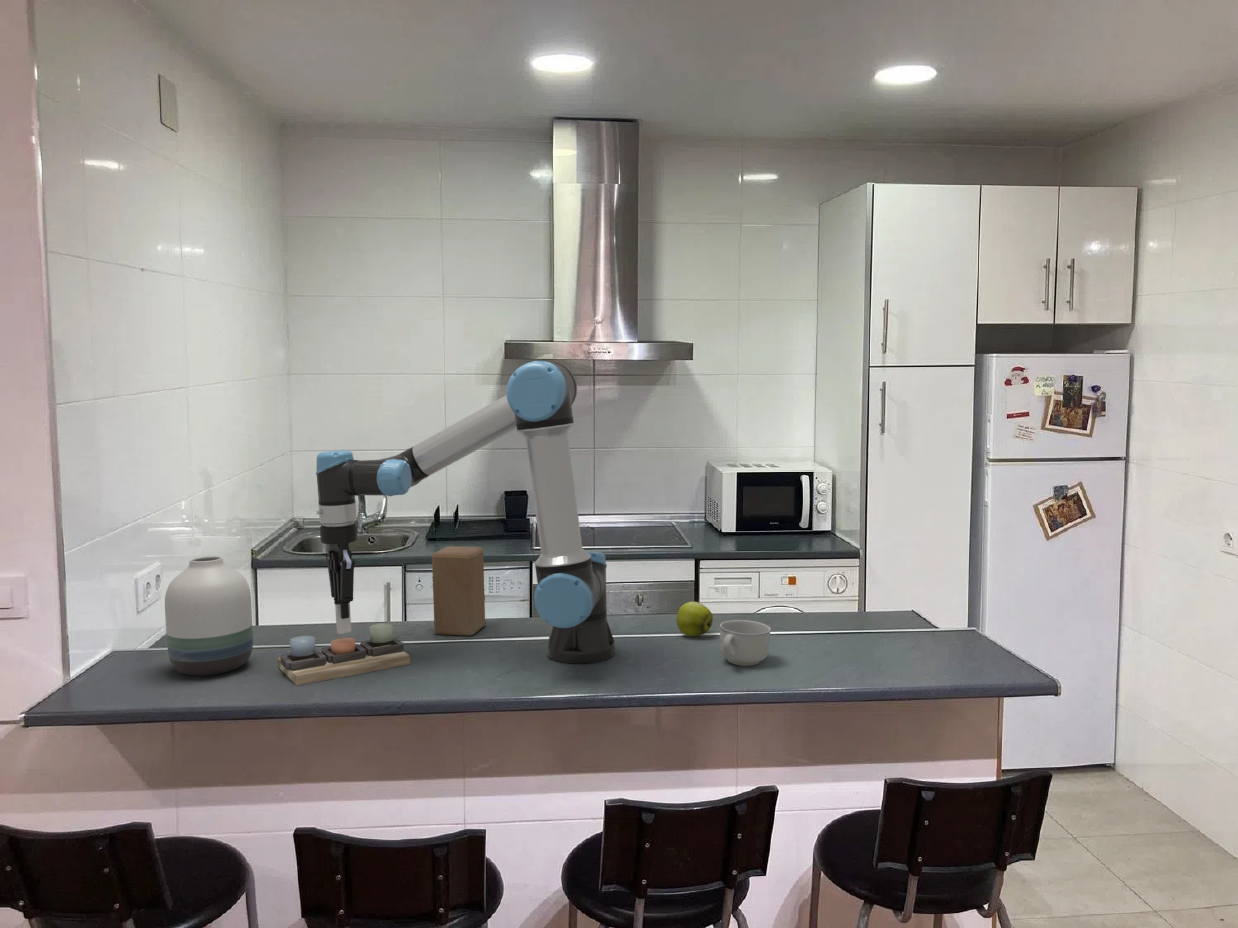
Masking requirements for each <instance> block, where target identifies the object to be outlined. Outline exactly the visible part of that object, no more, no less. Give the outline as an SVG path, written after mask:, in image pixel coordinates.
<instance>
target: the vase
mask: <svg viewBox="0 0 1238 928" xmlns="http://www.w3.org/2000/svg"><path fill="white" fill-rule="evenodd" d="M251 595H252V594H251V589H250V585H249V583H248V580H247V579H246V577H244V575H243V574H241V573H240V572H239V571H238V570H237V569H235V568H233V567H231V566H229V565H227V564H226V563H225V562H224V559H223V557H222V556H219V555H205V556H198V557H194V558H191V559H190V560H189V564H188V566H187V567H186V568H185V569H183V571H181V572H180V573H179V574H177V575H176V577H174V578H173V579H172V580H171V582H170V583H169V584H168V586H167V588H166V592H165V595H164V614H165V633H166V645H167V655H168V658H169V661H170V664H171V666H172V667H173V669H175V670H176V671H177V672H179V673H182V674H184V675H189V676H212V675H219V674H224V673H228V672H231V671H234V670H236V669H239V668H240V667H242V666H244V665H245V664H246V663H247V662H248V661H249V659H250V658H251V655H252V652H253V647H254V634H253V633H254V630H253V611H252V608H253V607H252V596H251Z"/></svg>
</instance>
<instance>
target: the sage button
mask: <svg viewBox="0 0 1238 928" xmlns="http://www.w3.org/2000/svg"><path fill="white" fill-rule="evenodd" d="M393 638H394V625H393V624H392V623H389V622H388V623H387V622H386V623H384V622H382V623H375V624H371V625H369V640H370V641H371V642H373V643H384V642H389V641H392V640H393Z"/></svg>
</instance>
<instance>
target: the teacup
mask: <svg viewBox="0 0 1238 928" xmlns="http://www.w3.org/2000/svg"><path fill="white" fill-rule="evenodd" d="M719 627H720V628H719V630H720V631H719V649H720V653H721V655H722V656H723V657H724V658H725V659H726V660H727V661H728V662H729V663H731V664H732V665H736V666H740V667H741V666H744V667H750V666H757V665H759V664H760V663H761V662H762V661H764V660H765V659H766V658H767V656H768V654H769V649H770V639H771V631H772V629H771V628H772V627H770V626H769V625H768V624H766V623H762V622H759V621H754V620H747V619H746V620H745V619H731V620H725V621H722V622H721V623H720V624H719Z"/></svg>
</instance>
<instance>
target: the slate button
mask: <svg viewBox="0 0 1238 928" xmlns="http://www.w3.org/2000/svg"><path fill="white" fill-rule="evenodd" d="M289 647H290V649H289V651H290V653H291V655H292V656H308V655H312V654H314V653H315V652H316V651H317V649H316V637H315V636H312V635H299V636H295V637H292V638H290V639H289Z"/></svg>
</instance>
